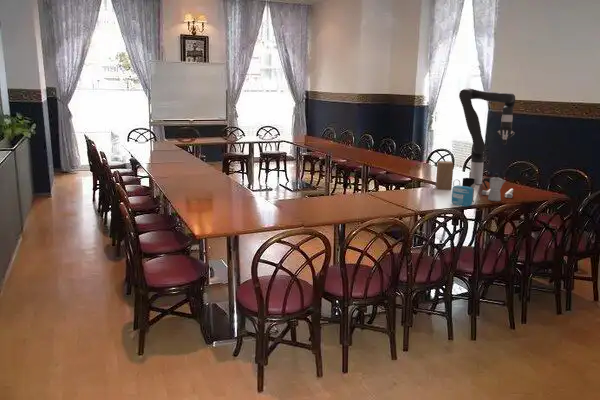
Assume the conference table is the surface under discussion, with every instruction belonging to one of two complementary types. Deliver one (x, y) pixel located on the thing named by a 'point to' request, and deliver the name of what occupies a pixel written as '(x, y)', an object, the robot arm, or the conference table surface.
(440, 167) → the wooden block
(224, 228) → the conference table surface
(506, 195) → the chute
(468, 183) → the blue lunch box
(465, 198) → the data package
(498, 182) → the coffee maker
